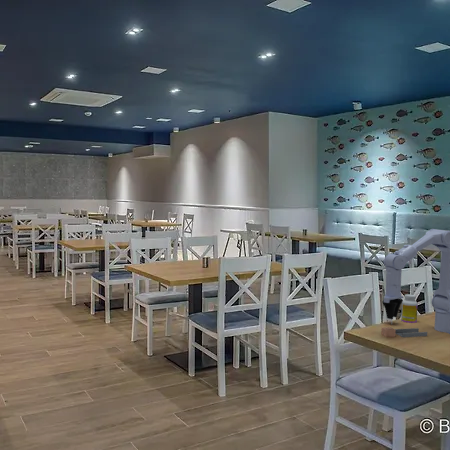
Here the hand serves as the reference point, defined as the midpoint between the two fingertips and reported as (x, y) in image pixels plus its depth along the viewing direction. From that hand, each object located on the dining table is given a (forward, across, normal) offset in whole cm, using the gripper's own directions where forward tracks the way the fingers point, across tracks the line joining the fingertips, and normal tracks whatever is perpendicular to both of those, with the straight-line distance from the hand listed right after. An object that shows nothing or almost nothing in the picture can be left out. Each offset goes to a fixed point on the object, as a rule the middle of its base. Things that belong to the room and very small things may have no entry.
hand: (391, 317), depth 203 cm
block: (+6, +1, 0) cm, 7 cm away
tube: (+8, +7, -6) cm, 12 cm away
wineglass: (+9, +18, +6) cm, 21 cm away
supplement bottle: (+9, +29, +2) cm, 30 cm away
